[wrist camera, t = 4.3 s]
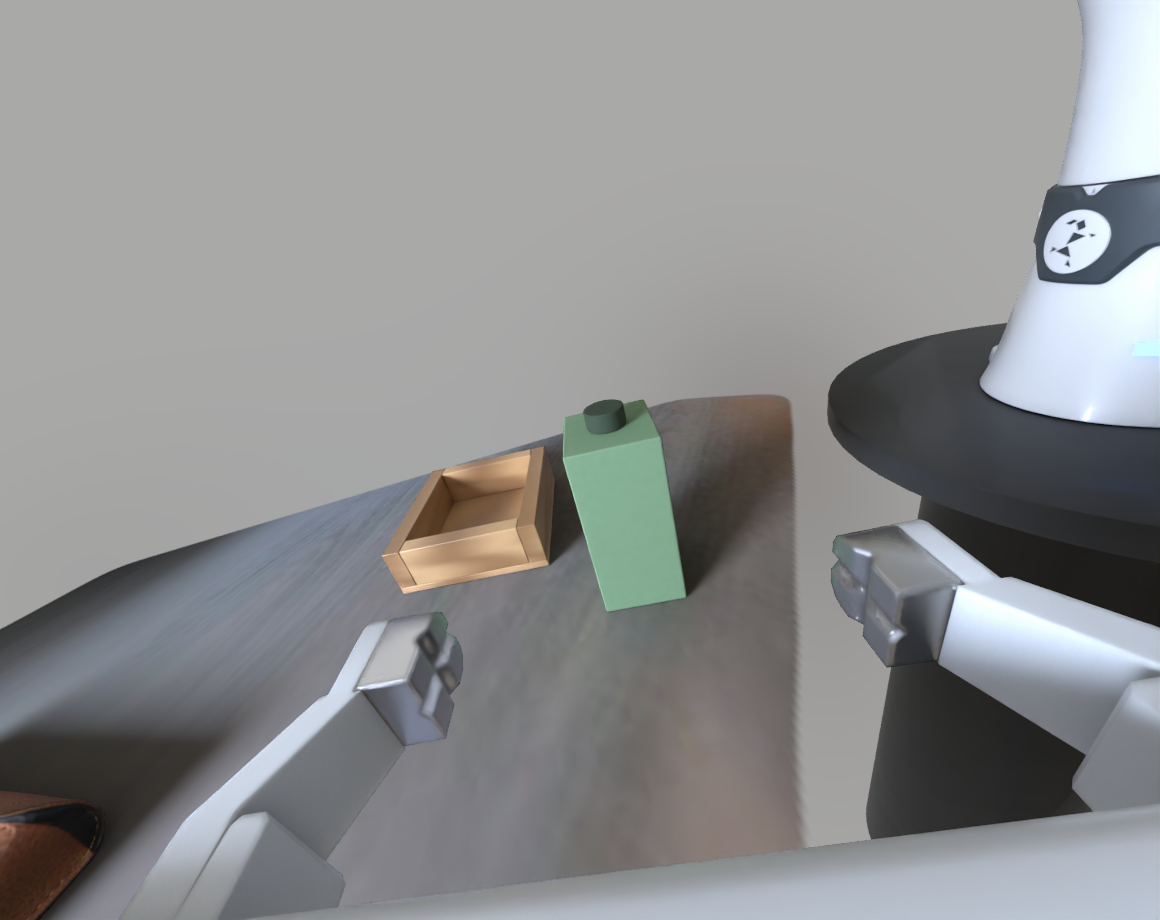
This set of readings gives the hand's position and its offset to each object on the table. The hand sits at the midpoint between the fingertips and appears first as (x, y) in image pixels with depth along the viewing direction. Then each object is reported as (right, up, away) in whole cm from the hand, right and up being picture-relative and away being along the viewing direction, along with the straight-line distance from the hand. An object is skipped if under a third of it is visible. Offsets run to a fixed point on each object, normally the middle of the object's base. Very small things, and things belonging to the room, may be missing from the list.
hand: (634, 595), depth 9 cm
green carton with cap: (+3, -4, +17) cm, 17 cm away
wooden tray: (-8, -3, +25) cm, 26 cm away
